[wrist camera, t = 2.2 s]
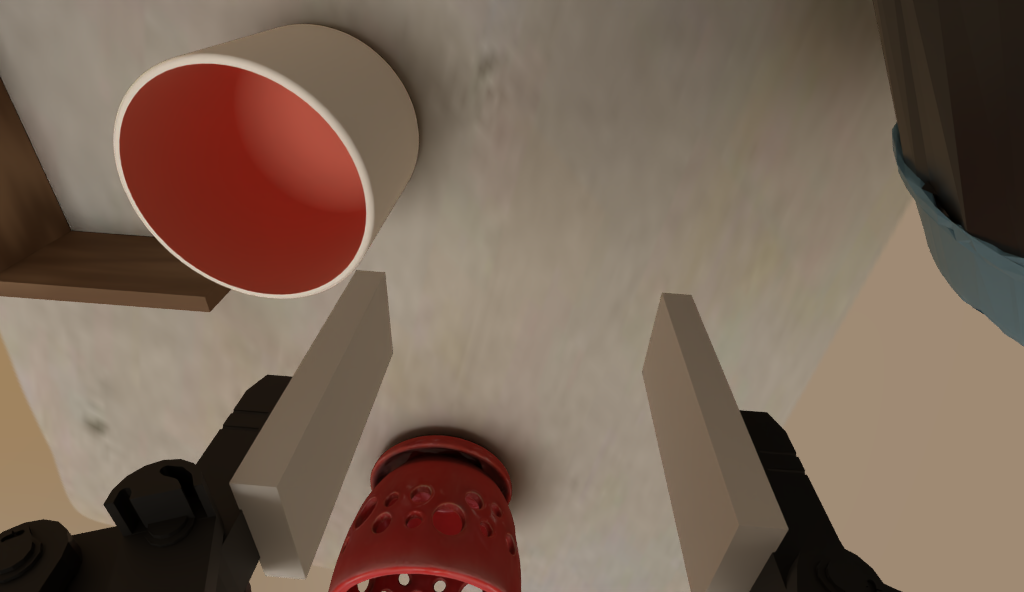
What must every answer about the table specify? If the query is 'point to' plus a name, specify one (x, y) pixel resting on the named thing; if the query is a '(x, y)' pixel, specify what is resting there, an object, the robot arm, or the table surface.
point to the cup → (268, 157)
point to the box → (79, 245)
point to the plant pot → (433, 522)
